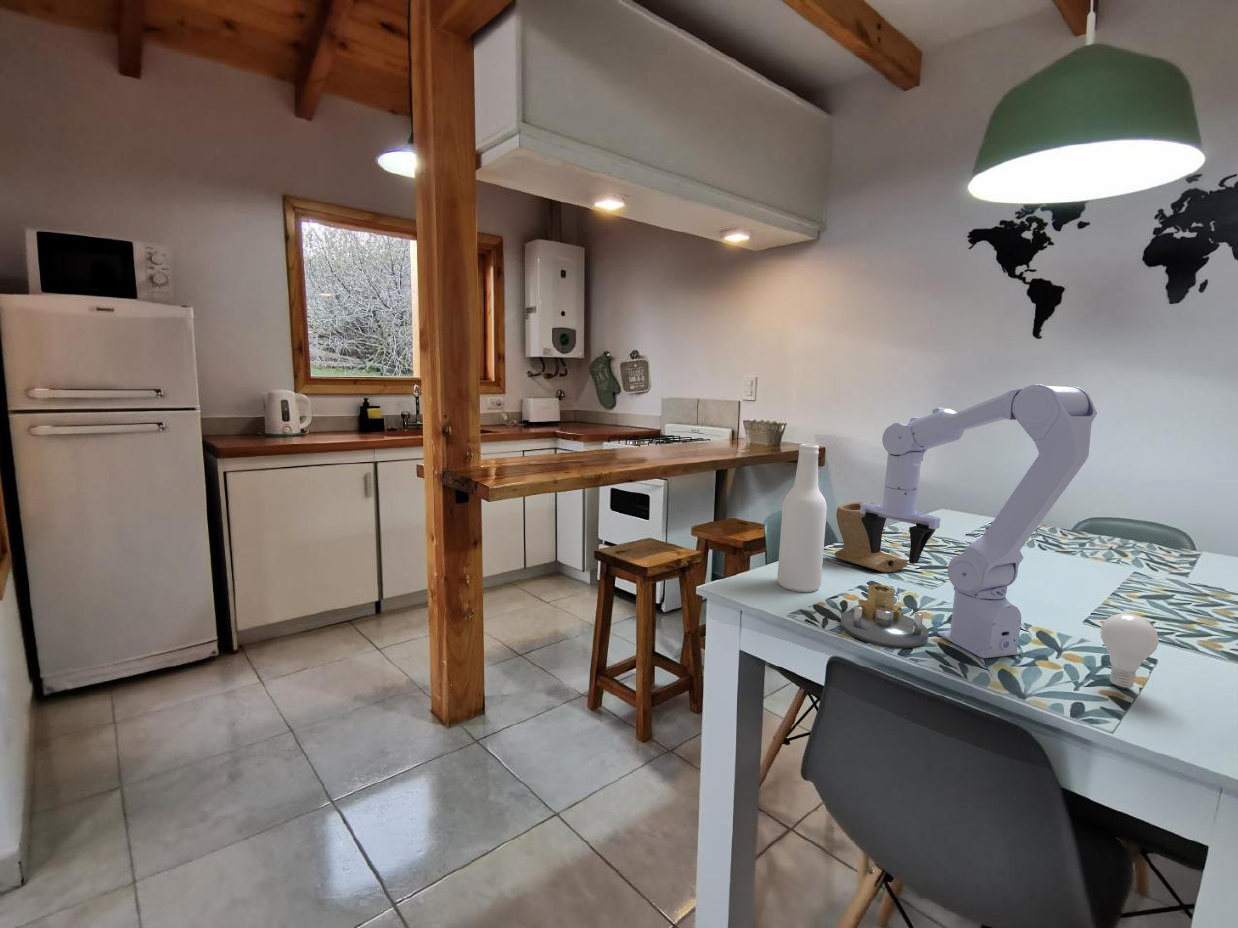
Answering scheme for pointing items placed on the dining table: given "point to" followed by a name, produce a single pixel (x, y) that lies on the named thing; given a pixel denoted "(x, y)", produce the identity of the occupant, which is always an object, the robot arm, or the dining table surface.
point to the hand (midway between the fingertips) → (893, 557)
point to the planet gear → (880, 601)
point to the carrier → (885, 628)
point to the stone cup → (861, 542)
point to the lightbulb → (1127, 646)
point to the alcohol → (803, 527)
